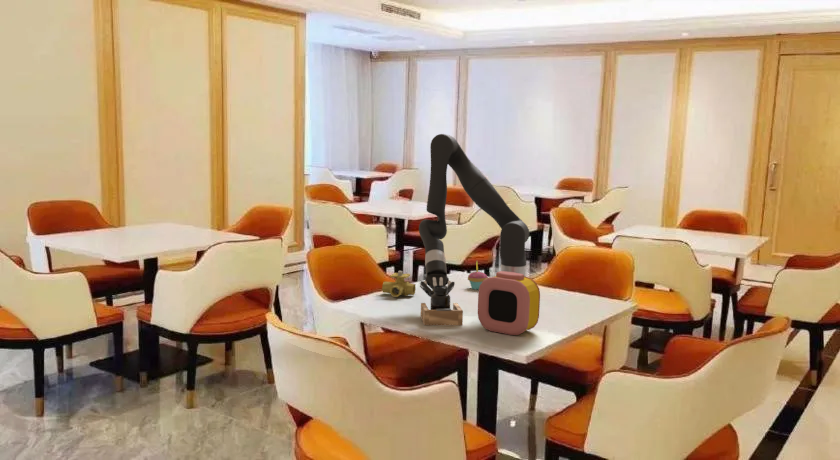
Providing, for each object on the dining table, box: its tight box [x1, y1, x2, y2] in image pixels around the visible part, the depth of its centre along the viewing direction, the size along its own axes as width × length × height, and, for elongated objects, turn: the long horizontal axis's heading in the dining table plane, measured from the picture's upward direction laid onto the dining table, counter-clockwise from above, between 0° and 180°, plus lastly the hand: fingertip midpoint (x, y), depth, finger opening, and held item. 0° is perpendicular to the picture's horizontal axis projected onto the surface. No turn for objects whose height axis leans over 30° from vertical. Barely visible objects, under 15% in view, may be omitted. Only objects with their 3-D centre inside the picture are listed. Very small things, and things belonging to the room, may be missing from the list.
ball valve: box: [381, 270, 416, 298], centre depth 291 cm, size 13×10×10 cm
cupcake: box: [467, 261, 489, 290], centre depth 310 cm, size 9×8×12 cm
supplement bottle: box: [430, 285, 451, 310], centre depth 254 cm, size 7×7×12 cm
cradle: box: [420, 302, 464, 326], centre depth 254 cm, size 12×13×5 cm
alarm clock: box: [477, 270, 541, 336], centre depth 243 cm, size 18×11×19 cm, turn 56°
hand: (439, 305), depth 258 cm, fingers closed
